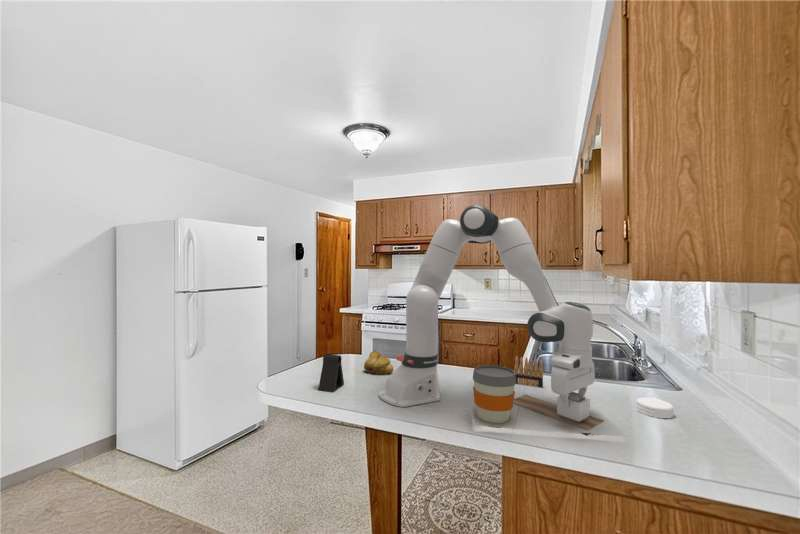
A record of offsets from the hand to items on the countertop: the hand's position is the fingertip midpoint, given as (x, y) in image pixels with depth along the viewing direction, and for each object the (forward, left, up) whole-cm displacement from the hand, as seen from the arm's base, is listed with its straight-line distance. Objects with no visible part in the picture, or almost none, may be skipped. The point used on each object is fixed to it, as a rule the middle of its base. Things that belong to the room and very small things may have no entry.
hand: (573, 403), depth 110 cm
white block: (0, 0, -4) cm, 4 cm away
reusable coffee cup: (-19, +15, -6) cm, 25 cm away
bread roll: (-18, +74, -6) cm, 76 cm away
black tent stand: (-44, +68, -6) cm, 81 cm away
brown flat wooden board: (0, +6, -6) cm, 9 cm away
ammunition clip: (+16, +25, -6) cm, 30 cm away
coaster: (+30, -12, -6) cm, 33 cm away
